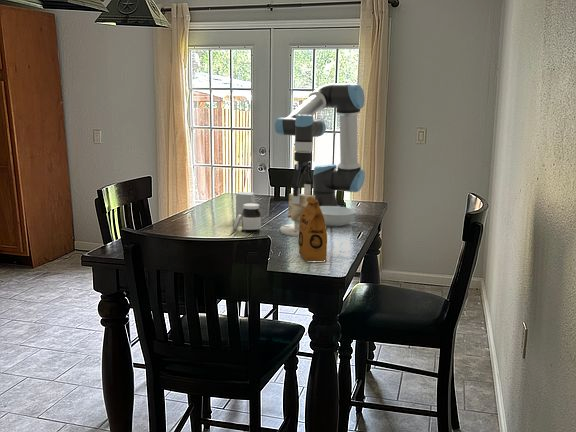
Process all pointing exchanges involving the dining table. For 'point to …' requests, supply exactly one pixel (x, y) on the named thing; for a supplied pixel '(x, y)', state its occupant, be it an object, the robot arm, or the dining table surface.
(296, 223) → the dial plate
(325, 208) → the serving bowl
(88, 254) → the dining table surface
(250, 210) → the spread jar
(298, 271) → the dining table surface
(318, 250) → the coffee package
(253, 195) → the supplement box
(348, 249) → the dining table surface
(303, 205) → the lever handle
